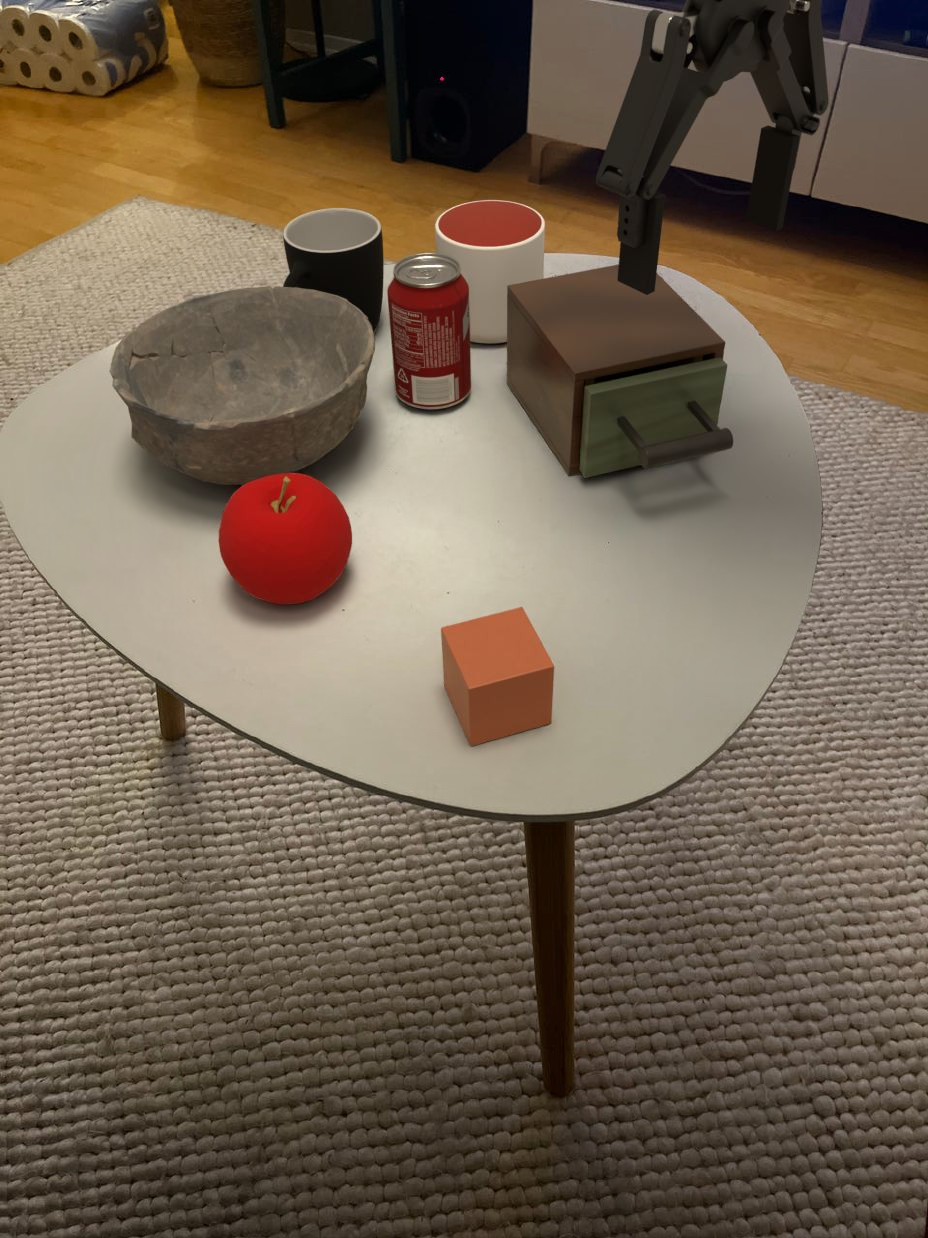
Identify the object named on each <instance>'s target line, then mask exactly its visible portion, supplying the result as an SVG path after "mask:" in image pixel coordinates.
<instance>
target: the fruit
mask: <svg viewBox="0 0 928 1238" xmlns="http://www.w3.org/2000/svg"><path fill="white" fill-rule="evenodd" d="M218 546H219V547H218V548H219V553H220V557H221V559H222V562H223V565H224V566H225V568H226V569H227V572H228V573H229V576H231V578H232V579H233V580H234V581H235V582H236V583H237V584H238V585H239V586H240V587H241V588H242V589H243V590H244V591H245V592H246V593H247V594H249V595H251V596H252V597H254V598H256V599H259V600H262V601H265V602H268V603H272V604H277V605H293V604H294V605H295V604H297V605H298V604H302V603H306V602H309V601H312V600H314V599H315V598H316V597H318V596H320V595H321V594H323V593H324V592H326V591H327V590H328V589H330V588H331V587H332V586H333V585H334V584H335V583H336V581H338V580H339V578H340V577H341V575H342V574H343V572H344V570H345V567H346V565H347V564H348V561H349V558H350V555H351V551H352V546H353V531H352V524H351V521H350V517H349V515H348V513H347V510H346V508H345V506H344V505H343V503H342V502H341V501H340V499H339V498H338V496H337V495H336V493H335V492H333V491H332V490H331V489H330V487H328V486H327V485H326V484H324V483H323V482H322V481H320V480H319V479H317V478H314V477H313V476H311V475H308V474H306V473H305V474H303V473H298V472H292V473H283V474H276V475H270V476H266V477H263V478H260V479H257V480H254V481H251V482H248V483H246V484H244V485H240V487H239V488H238V489H236V490H235V491H234V492H233V493H232V495H231V496H230V498H229V499H228V501H227V503H226V506H225V507H224V510H223V512H222V516H221V521H220V525H219V528H218Z"/></svg>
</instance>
